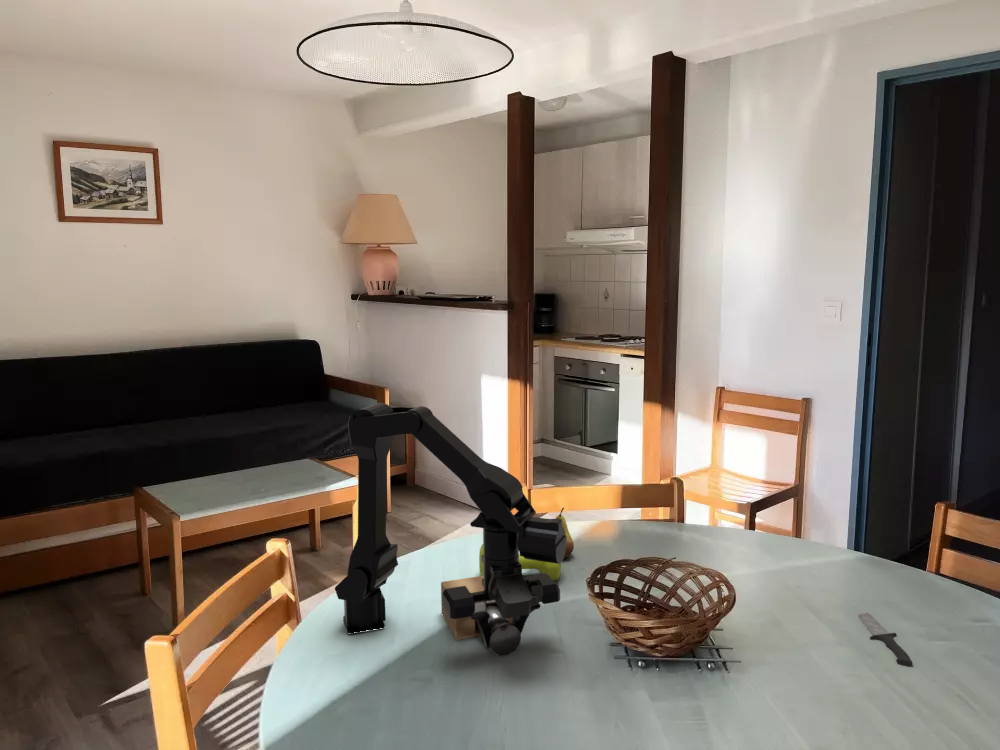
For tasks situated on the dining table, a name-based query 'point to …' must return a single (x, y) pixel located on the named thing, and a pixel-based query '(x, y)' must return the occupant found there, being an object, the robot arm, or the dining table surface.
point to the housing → (464, 625)
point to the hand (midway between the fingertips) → (501, 643)
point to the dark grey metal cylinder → (501, 632)
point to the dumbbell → (530, 566)
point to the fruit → (569, 540)
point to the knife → (884, 637)
